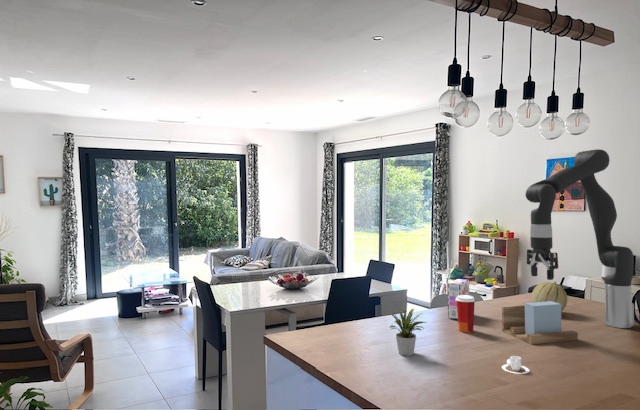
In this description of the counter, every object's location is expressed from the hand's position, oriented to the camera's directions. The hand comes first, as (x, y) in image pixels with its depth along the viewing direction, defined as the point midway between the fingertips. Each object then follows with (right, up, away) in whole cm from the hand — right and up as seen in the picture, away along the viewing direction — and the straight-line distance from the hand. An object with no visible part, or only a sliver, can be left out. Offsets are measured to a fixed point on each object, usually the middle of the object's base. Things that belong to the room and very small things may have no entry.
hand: (542, 277), depth 163 cm
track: (0, -23, +2) cm, 23 cm away
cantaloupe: (+22, -23, +35) cm, 47 cm away
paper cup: (-26, -24, +10) cm, 37 cm away
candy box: (-21, -24, +32) cm, 45 cm away
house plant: (-57, -24, -16) cm, 64 cm away
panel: (0, -22, 0) cm, 22 cm away
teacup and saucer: (-22, -24, -30) cm, 44 cm away
